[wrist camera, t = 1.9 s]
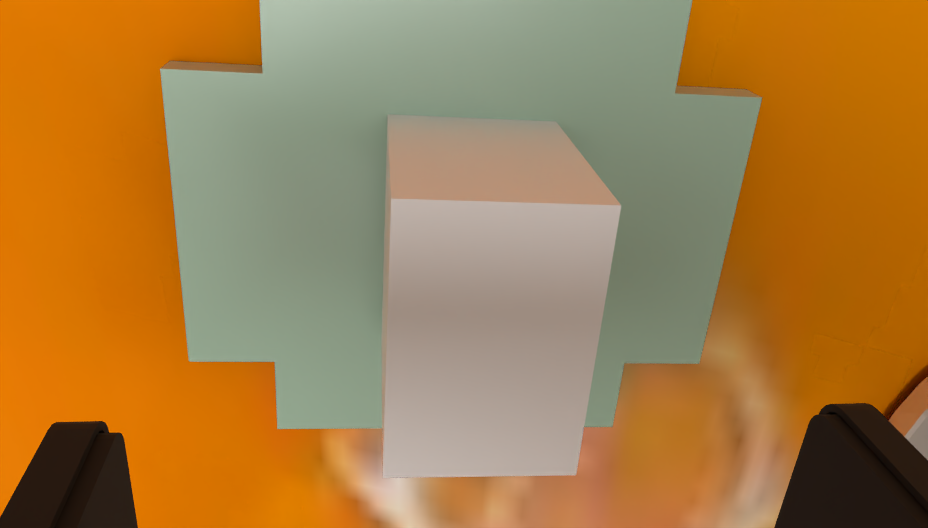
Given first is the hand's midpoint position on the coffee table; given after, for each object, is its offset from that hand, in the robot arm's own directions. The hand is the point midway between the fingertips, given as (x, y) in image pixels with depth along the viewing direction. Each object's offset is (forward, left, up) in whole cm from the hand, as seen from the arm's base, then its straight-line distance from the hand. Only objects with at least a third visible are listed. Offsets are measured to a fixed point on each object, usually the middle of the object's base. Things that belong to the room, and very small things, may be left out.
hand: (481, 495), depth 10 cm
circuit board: (-1, 0, -11) cm, 11 cm away
